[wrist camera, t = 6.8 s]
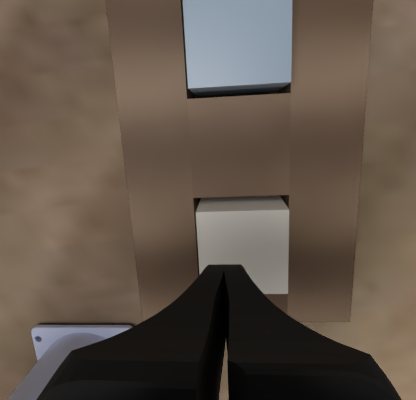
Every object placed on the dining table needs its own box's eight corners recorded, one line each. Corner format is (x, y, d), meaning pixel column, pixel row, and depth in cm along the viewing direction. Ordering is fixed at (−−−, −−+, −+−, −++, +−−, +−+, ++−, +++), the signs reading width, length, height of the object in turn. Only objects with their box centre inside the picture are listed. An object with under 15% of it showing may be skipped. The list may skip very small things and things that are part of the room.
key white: (276, 259, 19) (287, 293, 15) (206, 260, 20) (200, 294, 16) (276, 190, 18) (289, 209, 14) (202, 193, 18) (195, 212, 15)
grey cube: (277, 91, 17) (291, 82, 13) (197, 96, 17) (187, 88, 13) (277, 1, 16) (292, -39, 12) (192, 8, 16) (180, -28, 12)
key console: (328, 285, 21) (350, 321, 17) (158, 286, 22) (142, 321, 18) (345, -52, 16) (380, -106, 12) (126, -32, 17) (96, -76, 13)
